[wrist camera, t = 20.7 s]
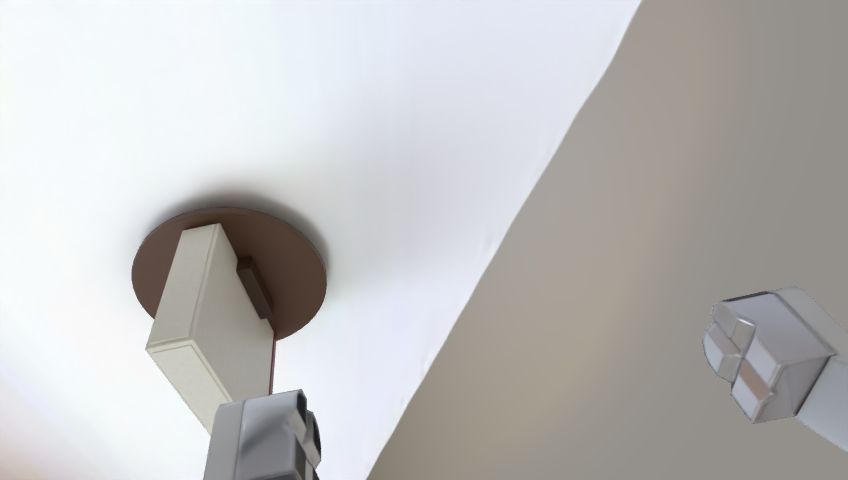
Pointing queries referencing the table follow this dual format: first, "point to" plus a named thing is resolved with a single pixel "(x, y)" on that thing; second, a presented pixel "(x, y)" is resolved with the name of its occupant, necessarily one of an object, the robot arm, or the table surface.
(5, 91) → the table surface
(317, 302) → the upright block on disc
